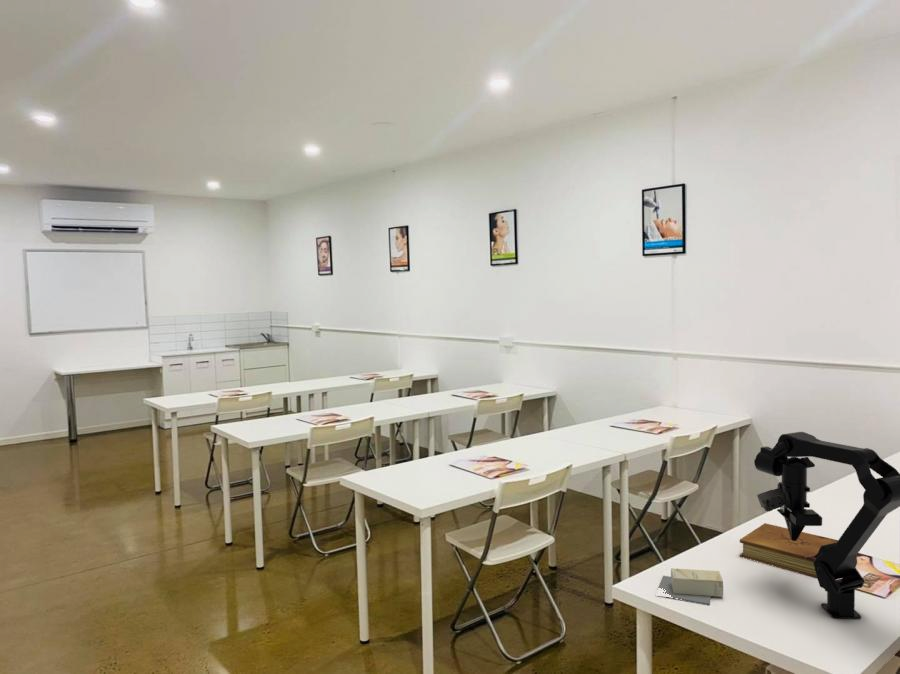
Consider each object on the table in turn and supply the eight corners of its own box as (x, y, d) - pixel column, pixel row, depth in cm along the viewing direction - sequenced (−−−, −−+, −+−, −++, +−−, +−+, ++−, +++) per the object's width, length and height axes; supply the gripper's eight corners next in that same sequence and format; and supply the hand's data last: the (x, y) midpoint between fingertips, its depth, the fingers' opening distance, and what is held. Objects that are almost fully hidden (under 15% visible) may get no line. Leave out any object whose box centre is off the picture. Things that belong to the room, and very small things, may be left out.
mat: (713, 585, 174) (713, 583, 174) (709, 605, 163) (709, 603, 163) (663, 576, 180) (663, 575, 180) (655, 595, 169) (655, 594, 169)
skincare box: (723, 581, 166) (673, 577, 169) (723, 598, 166) (673, 594, 169) (719, 570, 172) (670, 567, 175) (718, 586, 173) (670, 583, 175)
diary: (848, 561, 187) (849, 541, 187) (825, 582, 175) (826, 561, 174) (765, 539, 204) (766, 521, 204) (739, 558, 192) (739, 538, 191)
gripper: (748, 470, 178) (748, 526, 179) (775, 492, 160) (775, 554, 161) (791, 470, 177) (790, 526, 178) (823, 492, 159) (822, 555, 160)
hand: (793, 540), depth 169 cm, fingers closed
